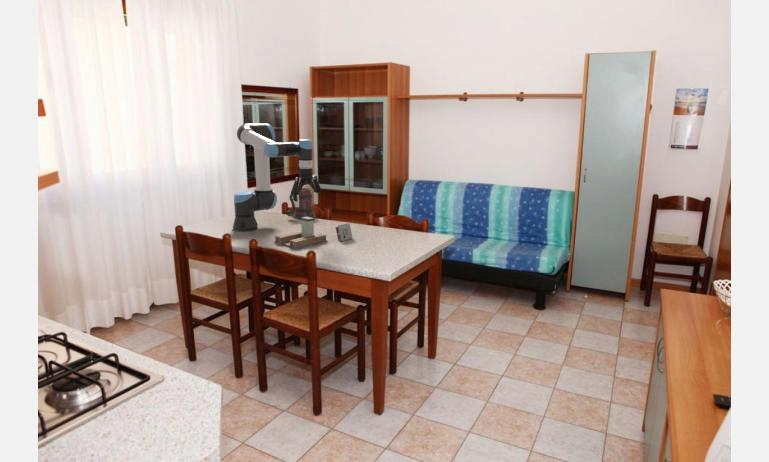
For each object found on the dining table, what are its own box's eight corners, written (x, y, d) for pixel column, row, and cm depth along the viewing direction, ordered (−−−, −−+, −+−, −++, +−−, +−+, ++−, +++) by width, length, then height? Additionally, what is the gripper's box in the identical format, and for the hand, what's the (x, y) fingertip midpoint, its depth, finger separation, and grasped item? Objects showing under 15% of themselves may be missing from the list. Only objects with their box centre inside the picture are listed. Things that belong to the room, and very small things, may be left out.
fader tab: (301, 238, 284) (301, 217, 281) (307, 237, 287) (306, 216, 284) (308, 240, 280) (308, 219, 277) (314, 238, 283) (313, 218, 280)
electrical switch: (341, 241, 284) (340, 225, 282) (335, 240, 287) (334, 225, 285) (352, 238, 291) (351, 223, 289) (346, 238, 294) (345, 222, 292)
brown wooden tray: (274, 242, 279) (274, 235, 278) (304, 235, 295) (304, 229, 294) (296, 249, 266) (296, 241, 265) (327, 242, 282) (327, 234, 281)
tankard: (304, 213, 359) (303, 186, 354) (320, 216, 349) (320, 188, 345) (279, 218, 341) (278, 190, 336) (296, 222, 331) (295, 192, 326)
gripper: (292, 170, 263) (293, 209, 268) (327, 166, 281) (327, 203, 286) (283, 168, 268) (284, 207, 273) (318, 165, 286) (319, 201, 291)
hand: (306, 205), depth 279 cm, fingers open, 13 cm apart
